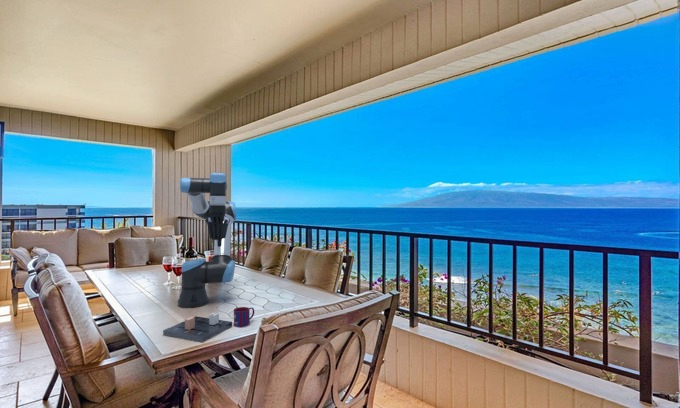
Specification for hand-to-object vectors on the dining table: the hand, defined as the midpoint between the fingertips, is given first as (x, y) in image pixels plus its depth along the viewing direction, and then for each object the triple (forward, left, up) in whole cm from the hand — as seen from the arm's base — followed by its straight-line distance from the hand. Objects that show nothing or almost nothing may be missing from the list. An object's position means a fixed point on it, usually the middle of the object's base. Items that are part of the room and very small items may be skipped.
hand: (217, 253), depth 165 cm
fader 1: (+7, -25, -27) cm, 38 cm away
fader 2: (+12, -17, -27) cm, 34 cm away
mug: (+21, -7, -30) cm, 37 cm away
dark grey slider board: (+8, -21, -29) cm, 37 cm away
